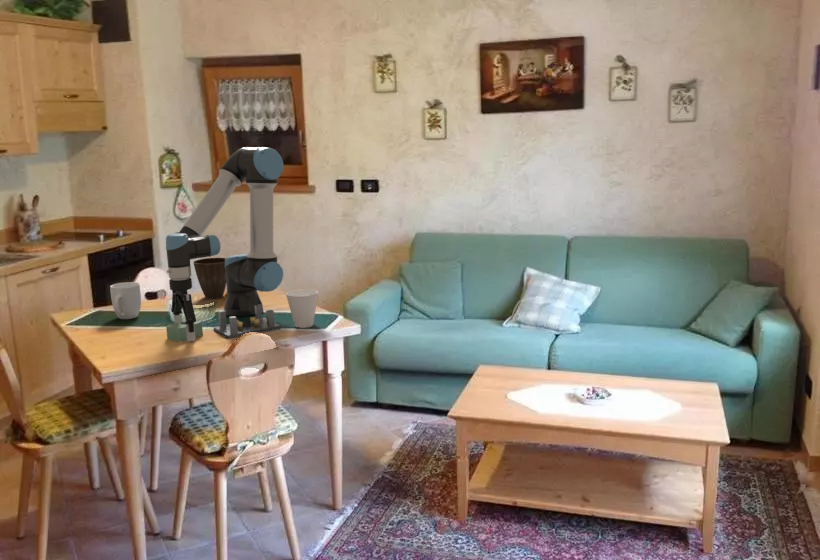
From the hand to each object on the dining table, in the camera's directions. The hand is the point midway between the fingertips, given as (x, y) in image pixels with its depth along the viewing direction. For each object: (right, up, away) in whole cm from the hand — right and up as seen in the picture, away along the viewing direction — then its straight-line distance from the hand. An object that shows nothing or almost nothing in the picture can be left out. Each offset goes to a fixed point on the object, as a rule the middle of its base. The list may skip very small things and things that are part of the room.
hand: (185, 336), depth 273 cm
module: (0, 0, 0) cm, 0 cm away
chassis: (+20, +2, +7) cm, 22 cm away
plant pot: (-5, +13, +61) cm, 63 cm away
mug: (-31, +5, +29) cm, 43 cm away
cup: (+41, +3, +11) cm, 42 cm away
